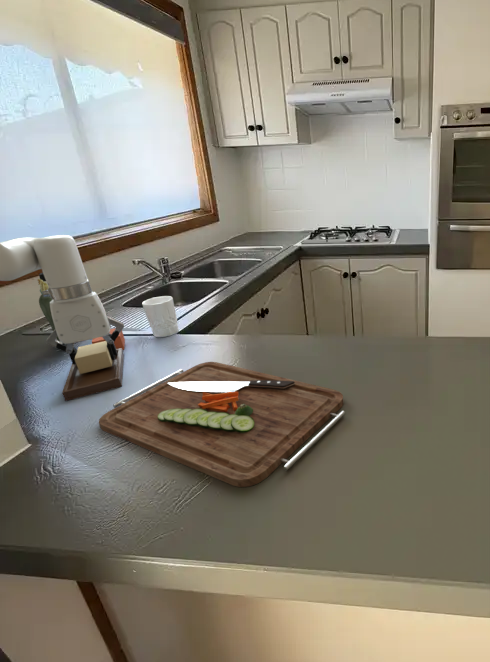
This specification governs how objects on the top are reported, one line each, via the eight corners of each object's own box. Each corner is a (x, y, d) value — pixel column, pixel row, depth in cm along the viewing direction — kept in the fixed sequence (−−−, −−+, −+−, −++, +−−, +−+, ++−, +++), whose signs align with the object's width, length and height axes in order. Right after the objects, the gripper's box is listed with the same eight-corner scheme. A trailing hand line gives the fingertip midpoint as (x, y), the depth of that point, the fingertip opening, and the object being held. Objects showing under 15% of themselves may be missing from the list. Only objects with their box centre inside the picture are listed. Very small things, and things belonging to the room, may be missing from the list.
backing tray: (65, 401, 89) (61, 392, 88) (76, 366, 105) (73, 358, 104) (121, 386, 93) (119, 378, 92) (124, 355, 110) (121, 347, 109)
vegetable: (78, 348, 116) (52, 278, 109) (59, 354, 113) (32, 282, 106) (74, 344, 119) (48, 276, 112) (56, 350, 116) (28, 280, 109)
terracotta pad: (96, 356, 110) (91, 342, 109) (98, 345, 117) (94, 332, 116) (124, 349, 113) (119, 336, 112) (125, 340, 120) (120, 326, 118)
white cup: (161, 340, 117) (152, 306, 114) (145, 335, 122) (136, 303, 118) (186, 330, 124) (178, 297, 120) (170, 326, 128) (162, 294, 124)
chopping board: (85, 423, 80) (80, 409, 79) (200, 363, 102) (197, 351, 100) (262, 497, 59) (258, 480, 58) (360, 401, 80) (359, 387, 79)
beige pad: (80, 374, 98) (74, 358, 96) (83, 361, 104) (78, 346, 103) (112, 366, 100) (106, 351, 99) (113, 354, 107) (108, 340, 105)
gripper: (20, 303, 89) (51, 378, 95) (114, 287, 96) (136, 357, 103) (28, 295, 95) (56, 366, 102) (115, 280, 102) (136, 347, 109)
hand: (96, 361), depth 102 cm, fingers closed on beige pad, 6 cm apart
